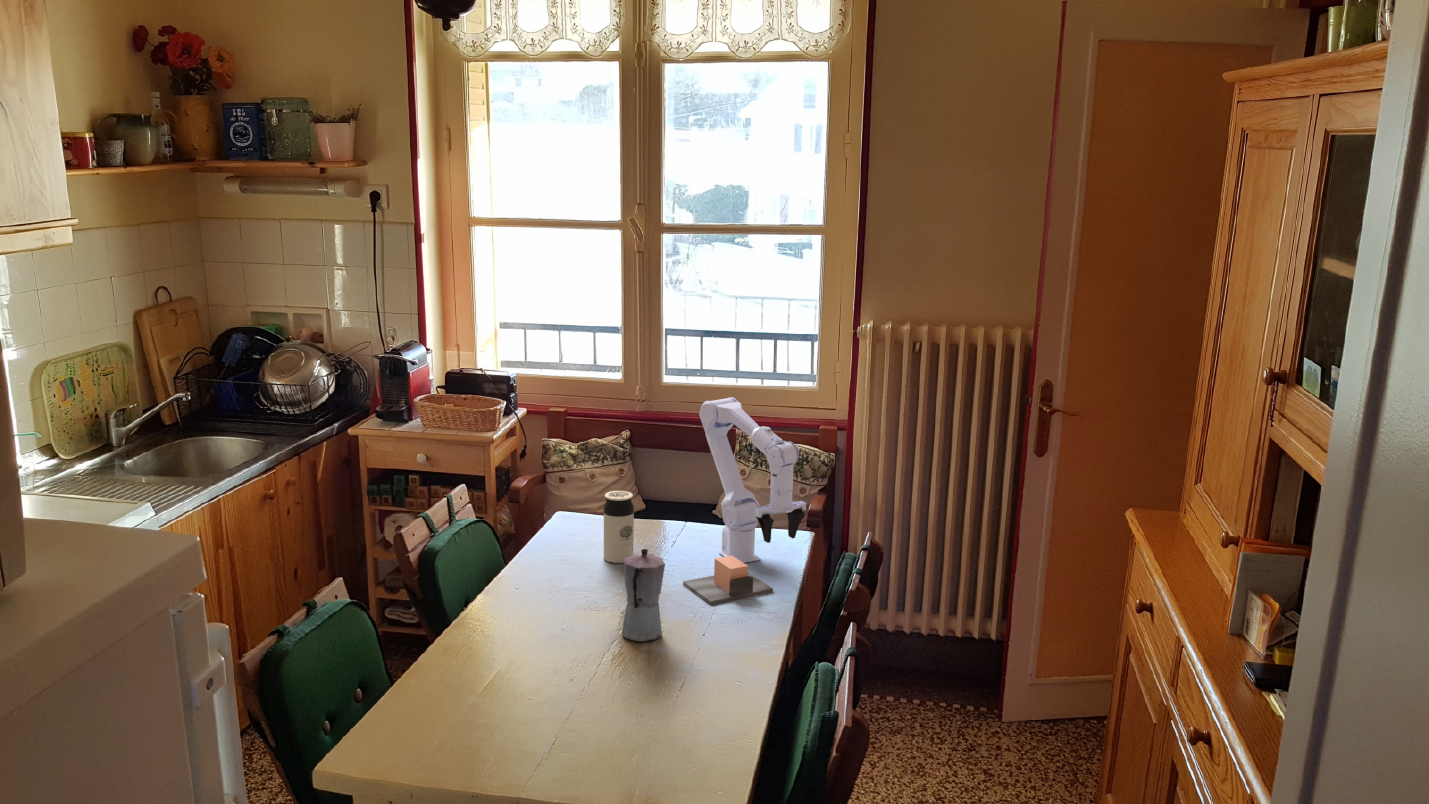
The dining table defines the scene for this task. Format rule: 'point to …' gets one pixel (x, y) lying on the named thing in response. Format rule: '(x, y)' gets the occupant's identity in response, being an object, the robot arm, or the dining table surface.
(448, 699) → the dining table surface
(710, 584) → the rail board
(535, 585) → the dining table surface
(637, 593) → the moka pot
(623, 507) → the travel mug
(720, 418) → the robot arm
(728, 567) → the slotted block
